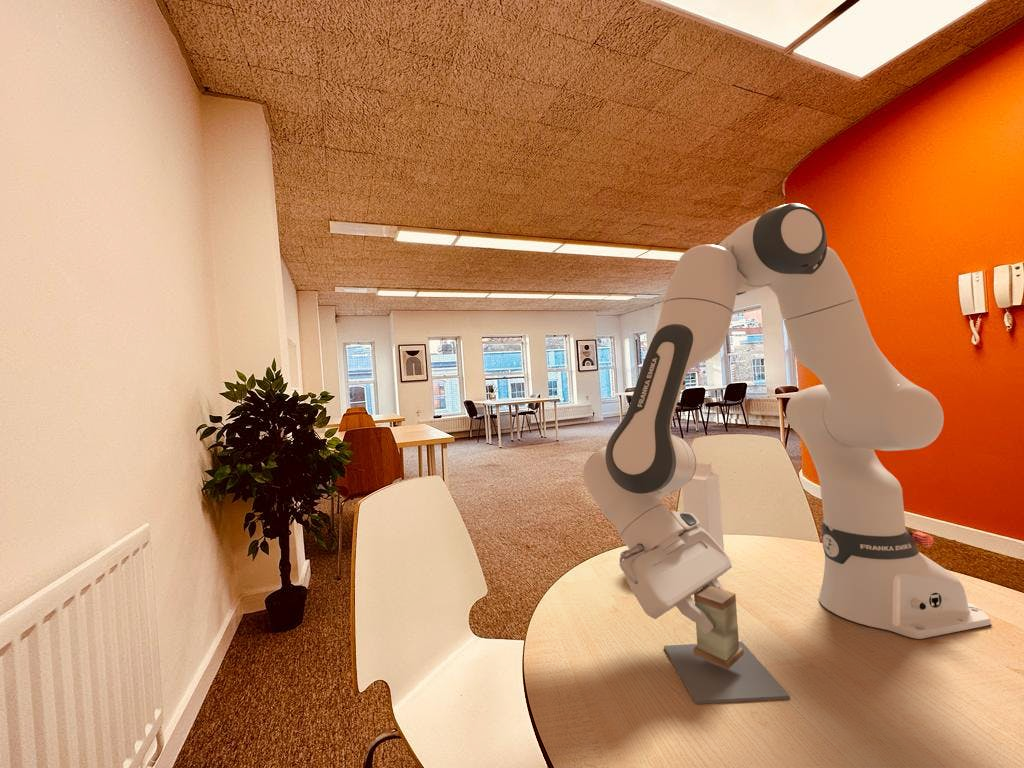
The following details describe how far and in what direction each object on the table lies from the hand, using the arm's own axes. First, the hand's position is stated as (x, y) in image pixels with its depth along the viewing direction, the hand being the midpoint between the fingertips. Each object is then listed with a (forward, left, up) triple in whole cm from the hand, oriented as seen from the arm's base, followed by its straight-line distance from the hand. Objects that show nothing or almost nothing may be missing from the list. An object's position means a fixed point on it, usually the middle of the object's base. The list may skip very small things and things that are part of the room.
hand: (720, 622), depth 61 cm
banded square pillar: (0, 0, -5) cm, 5 cm away
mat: (0, 0, -7) cm, 7 cm away
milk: (-15, -40, -7) cm, 44 cm away
